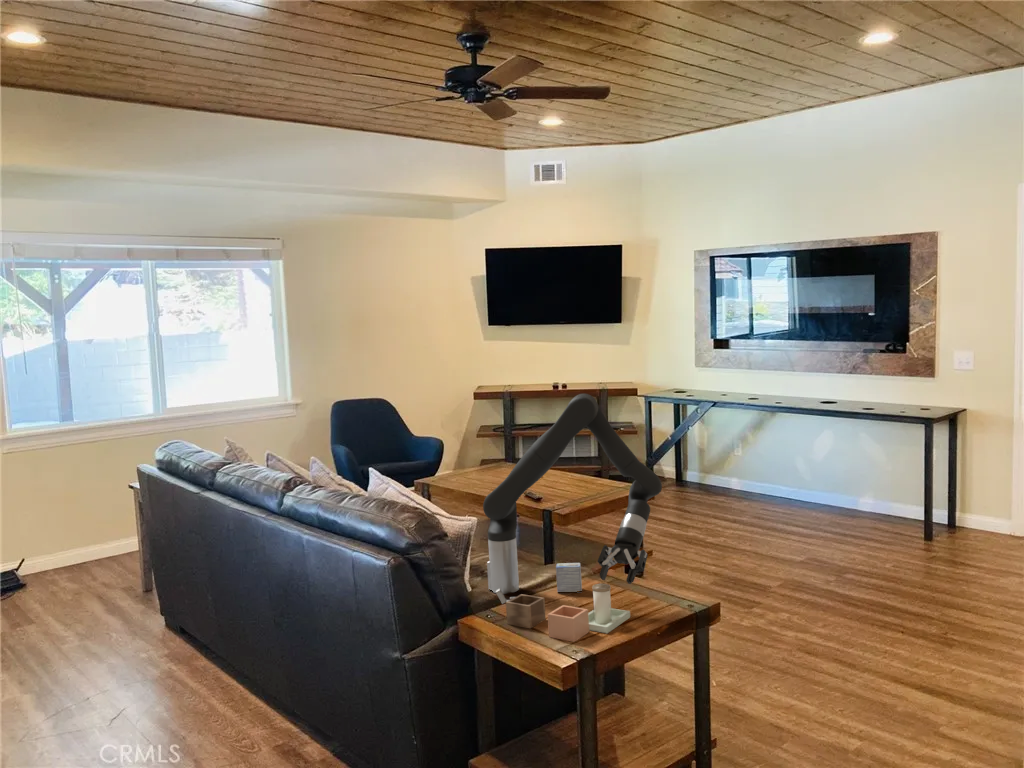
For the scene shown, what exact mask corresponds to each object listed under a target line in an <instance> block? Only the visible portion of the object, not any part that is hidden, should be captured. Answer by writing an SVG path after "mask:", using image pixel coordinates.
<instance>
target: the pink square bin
mask: <svg viewBox="0 0 1024 768" xmlns="http://www.w3.org/2000/svg"><path fill="white" fill-rule="evenodd" d="M588 613H589V609H587V608H583V607H577V606H571V605H565V604H562V605H560V606H558V607H557V608H555V609H554V610H552V611H550V612H549V613H547V626H548V627H547V628H548V638H553V639H556V640H557V639H558V640H562V641H567V642H573V643H575V642H576V641H578V640H580V639H581V638H583V637H584V636H586V635H587V634H588V633H589V632H590V630H589V619H588Z"/></svg>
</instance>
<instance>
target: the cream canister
mask: <svg viewBox="0 0 1024 768" xmlns="http://www.w3.org/2000/svg"><path fill="white" fill-rule="evenodd" d="M591 589H592V599H593V610H594V618H595V623H597V624H608V623H610V622H611V621H612V615H611V608H612V600H611V599H612V598H611V585H610V584H607V583H596V584H593V585H592V586H591Z"/></svg>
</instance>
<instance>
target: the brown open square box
mask: <svg viewBox="0 0 1024 768" xmlns="http://www.w3.org/2000/svg"><path fill="white" fill-rule="evenodd" d="M514 597H515V598H513V599H511V600H510V599H508V600H509V601H507V602H505V609H506V611H505V612H506V613H505V614H506V624H507V625H509V626H510V625H511V626H516V627H521V628H527V629H532V628H534V627H535V626H537V625H538V624H540V623H542V622H543V621H545V620H546V602H545V601H546V600H545V597H541V596H537V595H528V594H522V593H521V594H519V595H517V596H514Z"/></svg>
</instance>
